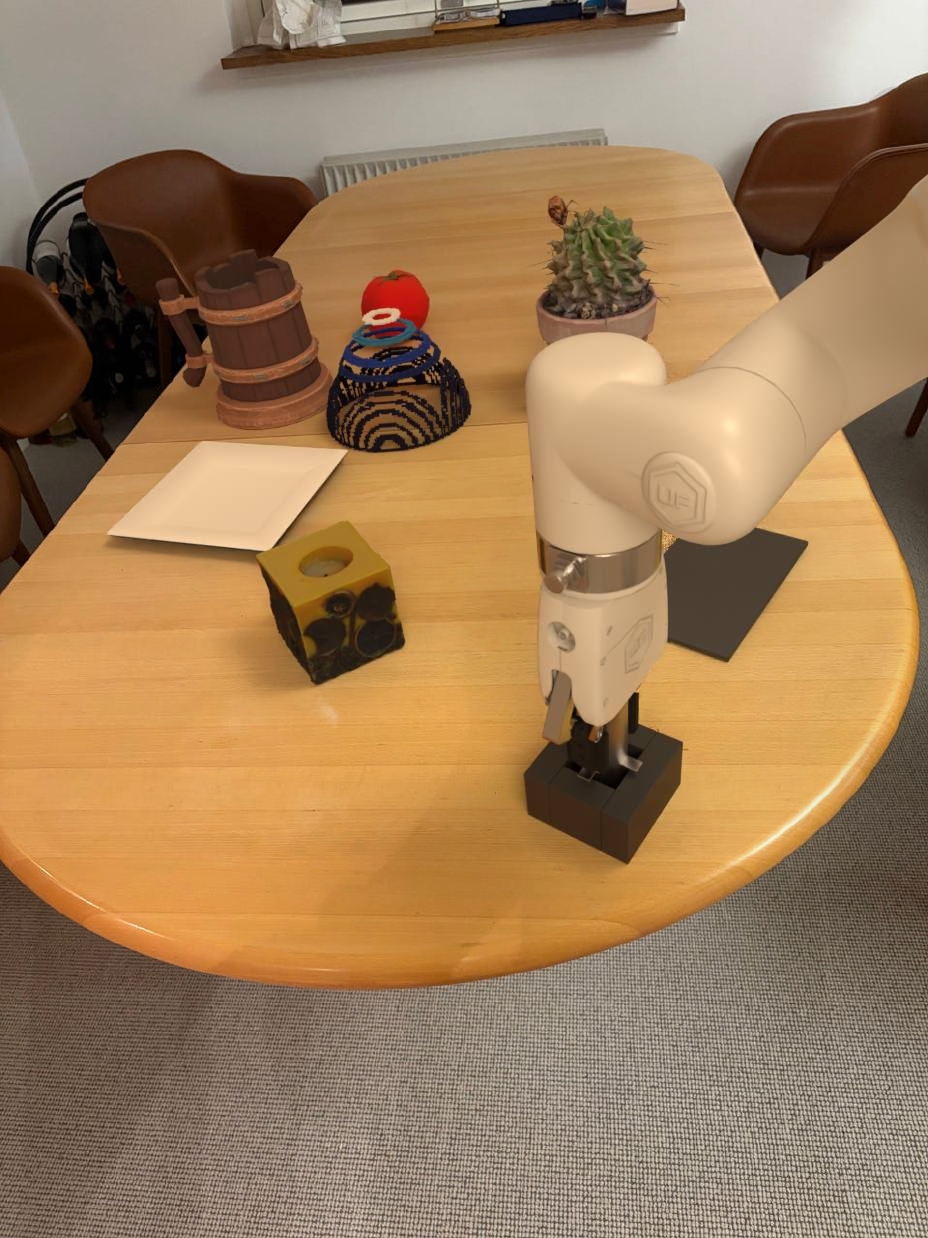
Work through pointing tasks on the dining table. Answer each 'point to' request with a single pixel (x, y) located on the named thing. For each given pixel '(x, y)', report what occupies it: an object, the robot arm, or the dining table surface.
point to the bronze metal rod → (614, 753)
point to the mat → (724, 588)
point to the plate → (230, 495)
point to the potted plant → (595, 278)
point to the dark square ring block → (606, 794)
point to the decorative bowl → (394, 385)
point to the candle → (332, 601)
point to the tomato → (396, 300)
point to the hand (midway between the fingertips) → (603, 742)
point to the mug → (251, 341)
